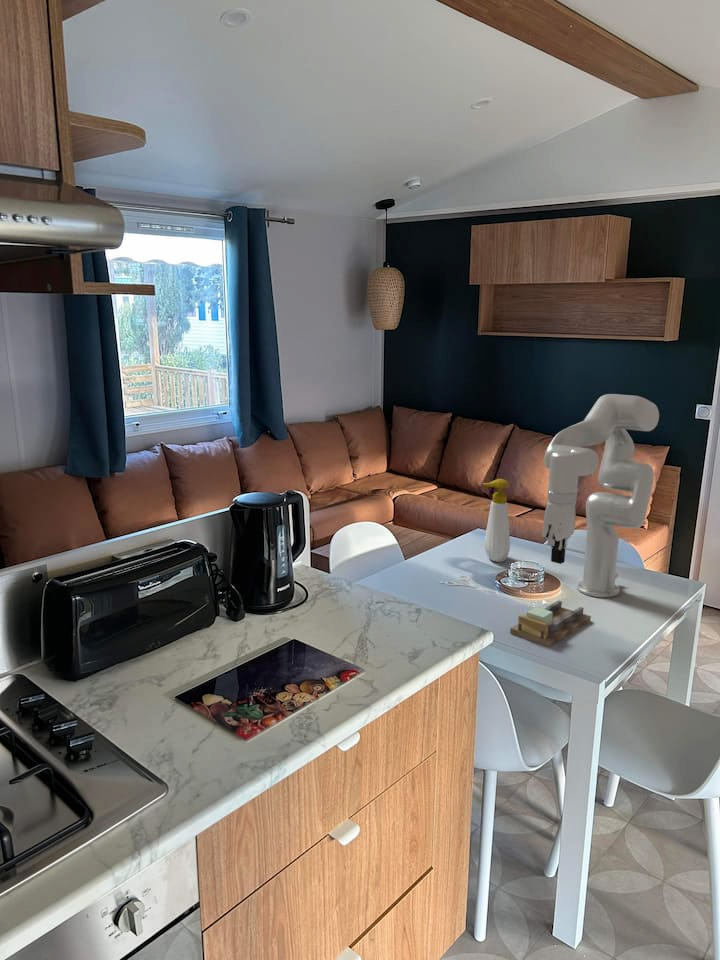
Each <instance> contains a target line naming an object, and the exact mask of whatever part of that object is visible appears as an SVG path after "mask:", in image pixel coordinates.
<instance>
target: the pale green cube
mask: <svg viewBox="0 0 720 960" xmlns="http://www.w3.org/2000/svg"><path fill="white" fill-rule="evenodd" d="M552 615H553V612H551V611H548V610H545V608H541V607H538V606H535V607H533V608H531V609H529V610H528V611H526V616H527V617H530V618H534V619H537V620H540V621H543V622H546V623H548V626H550V625H551V624H552Z"/></svg>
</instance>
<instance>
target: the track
mask: <svg viewBox="0 0 720 960" xmlns="http://www.w3.org/2000/svg"><path fill="white" fill-rule="evenodd" d="M562 602H563V601H561V600H557V601H556V602H554V603H551V604H550V605H548V606H546V607H545V608H544V609H545V610H548V611H551V612H553V615H552V624H551V625H550V626H548V623H546V622H543V621H540V620H537V619H534V618H530V617H527V615H523V614H520V615H518V620H517V622H518V623H517V624H516V625H514V626H512V627H510V631H509V632H510V633H512V634H511V635H513V634H514V636H516V637H519V638H522V639H525V640H528V641H531V642H534V643H536V644H539V645H542V646H545V647H548V648H551V647H552V646H555V644H557V643H559V642H560V641H562V640H564V639H565V638H566V637H568V636H570V635H571V634H572V633H574V632H576V631H577V630H579V629H580V628H582V627H584V626H585V625H586V624H588V623H590V622H591V619H592V616H591V615H588V614H586V613H585V614H584V607H582V606H580V607H578V608H576V609H575V610H572V609H568V608H566V607H563V606H562ZM510 633H509V634H510Z"/></svg>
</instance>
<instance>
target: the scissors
mask: <svg viewBox="0 0 720 960" xmlns="http://www.w3.org/2000/svg"><path fill="white" fill-rule="evenodd" d="M458 579H459V580H460V581H465V582H467V583H468V584H461V583H460V584H459V583H456V581H445V582H442V581H438V584H444V585H446V586H449V587H455V586H459V587H468V588H472V589H475V590H478V591H480V592H481V593H484V594H487V595H489V596H491V597H493V598H495V596H493V594H490V593H487V592H491V593H492V592H493V593H497V594H500V592H497V591H495V590H491V589H487V588H484V587H480V586H477V585H476V584H473V583H472V582H471V581H470V578H469V576H465V575H459V577H458ZM486 591H487V592H486Z"/></svg>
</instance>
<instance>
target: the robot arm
mask: <svg viewBox="0 0 720 960" xmlns="http://www.w3.org/2000/svg"><path fill="white" fill-rule="evenodd" d="M659 418H660V411H659V409H658V406H657V405H656V404H655V403H654V402H652V401H650V400H649V399H647V398H645V397H642V396H639V395H631V394H619V393H607V394H603V395H601V396H600V397H599V398H598V399H597V400H596V402H595V403H594V404H593V406H592V408H591V409H590V410H589V412H588V413H587V414H586V416H585V418H584V419H583V420H582V421H580V422H578V423H576V424H572V425H570V426H568V427H566V428H564V429H562V430H561V431H559V432H558V433H556V434H555V436H554V437H553V438H552V439H551V441H550V443H549V444H548V446H547V448H546V449H545V453H544V456H543V462H544V465H545V467H546V468H547V469H548V470H549V471H548V473H549V474H548V487H547V503H546V507H545V512H544V517H543V523H542V538H544V539H547V543H546V544H547V545H548V546H550V548H551V554H550V561H551V562H552V563H556V564H560V565H562V564H563V563H565V557H566V548H567V545H568V541H569V539H570V538H571V536H572V535H574V533H575V528H576V515H577V514H576V513H577V512H576V505H577V499H578V484H579V477H585V476H586V477H587V476H589V475H592V474H593V473H595V472H596V470H597V468H598V467H599V463H600V461H599V455H598V454H597V452H596V451H595V450H593V449H592V448H588V447H589V446H590V447H591V446H594V445H599V444H602V443H605V446H604V450H603V454H602V459H601V463H600V467H599V472H598V478H597V479H598V483H599V484H598V485H600V486H601V487H602V488H605V489H608V490H612V491H619V492H626V493H631V494H632V496H630V495H623V494H620V493H619V494H618V493H611V492H604V491H597V492H596V491H595V492H593V493H591V494H590V495H589V496H588V497H587V499H586V501H585V515H586V539H585V553H584V562H583V563H584V564H583V565H584V566H583V576H582V578H583V579H582V580H581V581H579V582H578V583H577V590H578V591H579V592H580V593H582V594H583V595H587V596H590V597H596V598H612V597H616V596H618V595H619V594H620V587H619V586H618V585H616V584H615V583H616V580H617V578H619V573H617V562H618V551H619V542H620V541H619V534H618V533H617V529H616V528H615V527H620V528H626V529H633V530H635V529H639V528H641V527H642V526H643V524H644V523H645V520H646V516H647V511H648V508H649V503H650V498H651V495H652V490H653V485H654V478H655V477H654V475H655V474H654V470H653V467H652V466H651V465H650V464H648V463H646V462H641V461H633V455H634V451H635V443H634V441H633V438H632V437H631V436H630V434H629V433H628V431H627V430H632V431H641V432H651V431H653V430H654V429H655V428H656V427H657V426H658V423H659Z"/></svg>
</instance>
